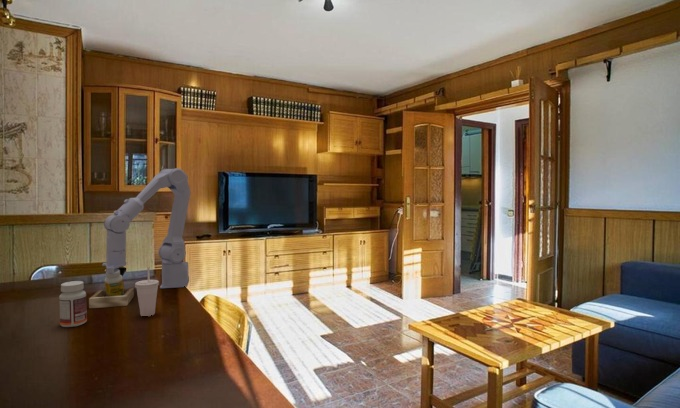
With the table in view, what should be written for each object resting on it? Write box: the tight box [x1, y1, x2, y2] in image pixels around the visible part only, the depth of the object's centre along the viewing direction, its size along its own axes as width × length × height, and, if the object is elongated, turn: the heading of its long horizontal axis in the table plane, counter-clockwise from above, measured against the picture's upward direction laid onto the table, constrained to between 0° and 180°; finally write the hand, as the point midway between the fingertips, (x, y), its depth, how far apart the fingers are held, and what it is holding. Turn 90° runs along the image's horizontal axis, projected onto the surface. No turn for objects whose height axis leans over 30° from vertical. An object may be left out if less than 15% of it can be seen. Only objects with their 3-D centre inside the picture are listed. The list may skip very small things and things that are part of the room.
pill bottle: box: [58, 280, 88, 328], centre depth 107 cm, size 6×6×11 cm
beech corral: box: [88, 287, 135, 309], centre depth 127 cm, size 10×10×3 cm
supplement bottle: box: [104, 269, 125, 297], centre depth 130 cm, size 5×5×10 cm
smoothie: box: [134, 266, 160, 317], centre depth 115 cm, size 6×6×14 cm
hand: (115, 289), depth 134 cm, fingers closed, pressing on supplement bottle
